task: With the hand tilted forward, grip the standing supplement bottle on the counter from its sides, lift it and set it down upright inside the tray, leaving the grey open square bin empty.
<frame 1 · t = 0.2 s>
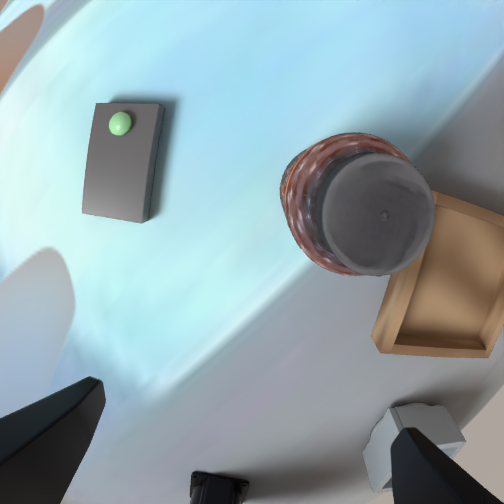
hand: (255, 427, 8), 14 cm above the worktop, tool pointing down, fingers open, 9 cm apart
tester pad: (123, 160, 20), on the worktop
grey open square bin: (402, 427, 25), on the worktop
tray: (453, 277, 21), on the worktop
supplement bottle: (323, 191, 20), on the worktop
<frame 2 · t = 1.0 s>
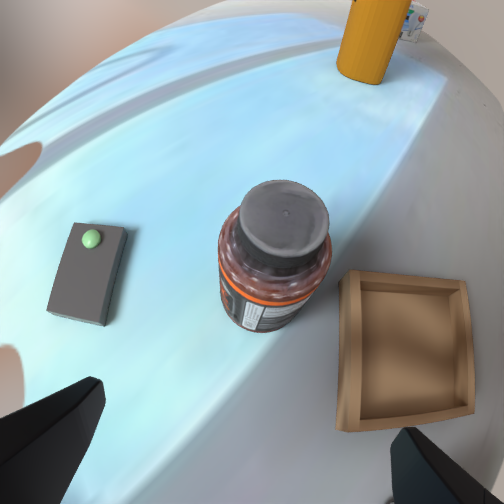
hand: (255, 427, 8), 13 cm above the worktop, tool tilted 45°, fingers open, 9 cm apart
light bulb box: (393, 34, 54), on the worktop
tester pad: (89, 274, 23), on the worktop
tray: (404, 353, 22), on the worktop
flashlight: (358, 73, 41), on the worktop
supplement bottle: (260, 297, 23), on the worktop
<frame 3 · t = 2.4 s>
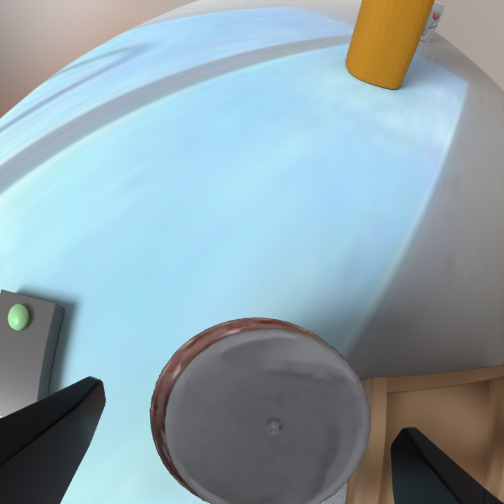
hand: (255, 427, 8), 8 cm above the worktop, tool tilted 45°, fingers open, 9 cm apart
light bulb box: (405, 33, 47), on the worktop
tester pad: (22, 360, 14), on the worktop
tray: (430, 462, 13), on the worktop
flashlight: (372, 74, 33), on the worktop
supplement bottle: (242, 409, 15), on the worktop
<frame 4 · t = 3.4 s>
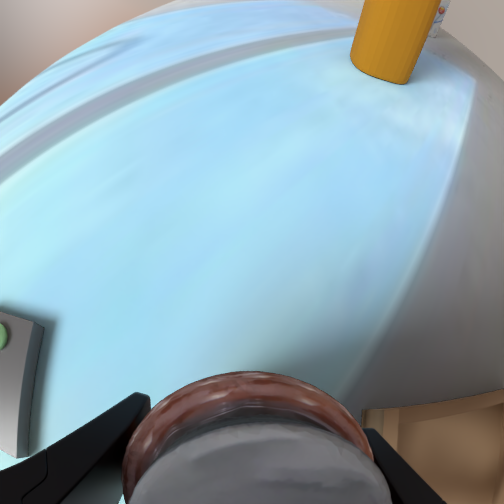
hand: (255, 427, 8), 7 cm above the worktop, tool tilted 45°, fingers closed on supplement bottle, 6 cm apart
light bulb box: (410, 27, 44), on the worktop
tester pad: (3, 380, 12), on the worktop
tray: (439, 488, 11), on the worktop
flashlight: (378, 68, 30), on the worktop
supplement bottle: (238, 441, 13), on the worktop, touching gripper
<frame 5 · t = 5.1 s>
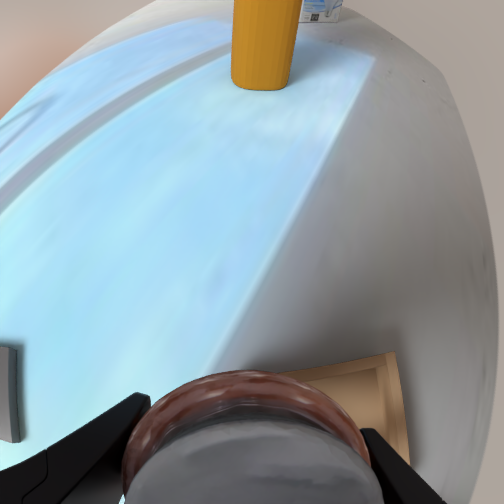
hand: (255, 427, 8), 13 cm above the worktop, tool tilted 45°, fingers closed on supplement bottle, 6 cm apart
light bulb box: (310, 18, 51), on the worktop
tray: (318, 445, 18), on the worktop
flashlight: (258, 78, 37), on the worktop
supplement bottle: (239, 440, 13), point 6 cm above the worktop, touching gripper
when the fingers open (8 cm above the worktop, at t = 6.8 s): supplement bottle stays where it is, resting on tray.
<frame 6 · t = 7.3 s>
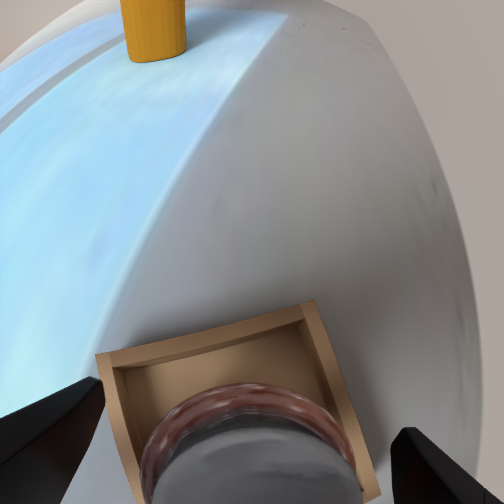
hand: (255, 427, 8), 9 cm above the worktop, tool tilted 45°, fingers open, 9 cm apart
tray: (237, 437, 14), on the worktop
flashlight: (157, 51, 32), on the worktop
supplement bottle: (239, 441, 14), resting on tray
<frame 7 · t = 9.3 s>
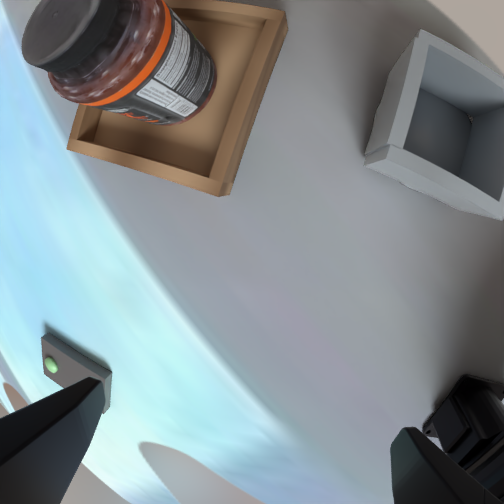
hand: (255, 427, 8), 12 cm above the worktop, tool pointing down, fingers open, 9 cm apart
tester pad: (77, 370, 25), on the worktop
grey open square bin: (425, 136, 16), on the worktop
tray: (176, 87, 18), on the worktop
supplement bottle: (176, 85, 17), resting on tray
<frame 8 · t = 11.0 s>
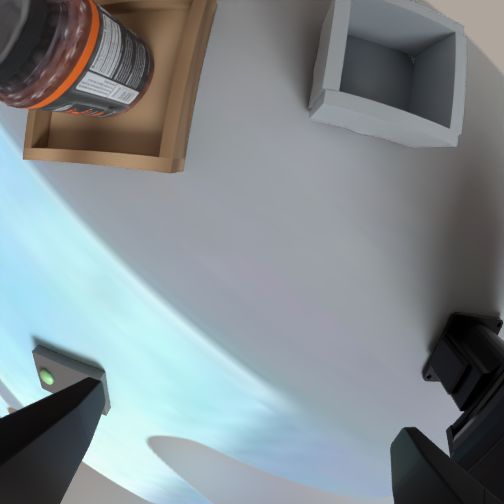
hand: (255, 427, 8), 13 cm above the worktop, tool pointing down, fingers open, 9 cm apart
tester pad: (73, 377, 25), on the worktop
grey open square bin: (368, 82, 16), on the worktop
tray: (117, 79, 17), on the worktop
supplement bottle: (117, 77, 16), resting on tray
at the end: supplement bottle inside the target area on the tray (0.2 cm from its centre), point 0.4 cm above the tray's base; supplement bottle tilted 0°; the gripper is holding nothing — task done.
